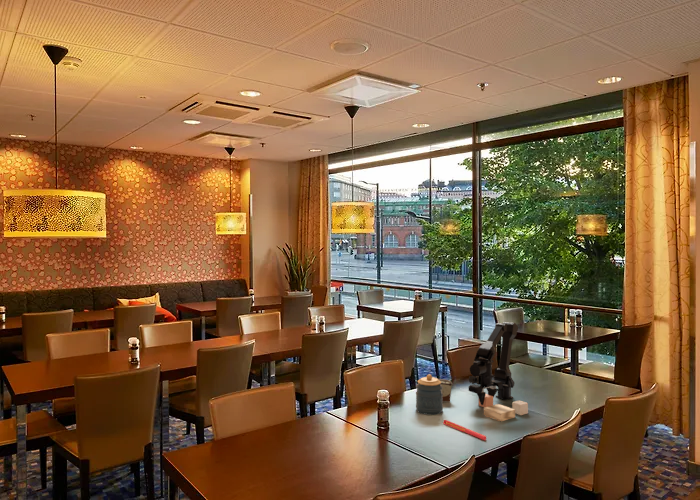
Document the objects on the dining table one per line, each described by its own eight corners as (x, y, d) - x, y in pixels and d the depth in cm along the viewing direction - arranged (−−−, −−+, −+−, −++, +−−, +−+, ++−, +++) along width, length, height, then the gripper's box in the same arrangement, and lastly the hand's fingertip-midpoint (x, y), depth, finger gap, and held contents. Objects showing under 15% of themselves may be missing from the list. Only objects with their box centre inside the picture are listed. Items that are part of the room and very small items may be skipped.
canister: (446, 408, 255) (445, 372, 255) (438, 416, 244) (438, 379, 243) (420, 405, 261) (420, 369, 260) (412, 413, 249) (412, 376, 249)
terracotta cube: (485, 403, 262) (485, 393, 262) (493, 406, 258) (493, 396, 258) (478, 405, 259) (478, 395, 259) (486, 408, 255) (486, 397, 255)
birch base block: (498, 412, 251) (498, 403, 250) (515, 418, 242) (515, 409, 242) (483, 416, 245) (483, 407, 245) (500, 422, 237) (500, 413, 237)
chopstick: (448, 424, 236) (441, 423, 234) (449, 420, 236) (442, 418, 234) (489, 442, 216) (482, 440, 214) (490, 436, 217) (483, 435, 214)
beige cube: (519, 410, 252) (519, 400, 252) (527, 413, 248) (527, 403, 247) (512, 412, 249) (512, 402, 249) (520, 415, 245) (520, 404, 245)
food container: (451, 398, 272) (451, 379, 271) (452, 401, 266) (452, 382, 265) (427, 397, 273) (427, 378, 273) (428, 401, 267) (428, 381, 267)
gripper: (486, 366, 270) (486, 396, 270) (460, 371, 260) (460, 402, 260) (503, 371, 261) (503, 402, 261) (476, 376, 251) (477, 408, 251)
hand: (485, 403), depth 259 cm, fingers closed on terracotta cube, 5 cm apart
